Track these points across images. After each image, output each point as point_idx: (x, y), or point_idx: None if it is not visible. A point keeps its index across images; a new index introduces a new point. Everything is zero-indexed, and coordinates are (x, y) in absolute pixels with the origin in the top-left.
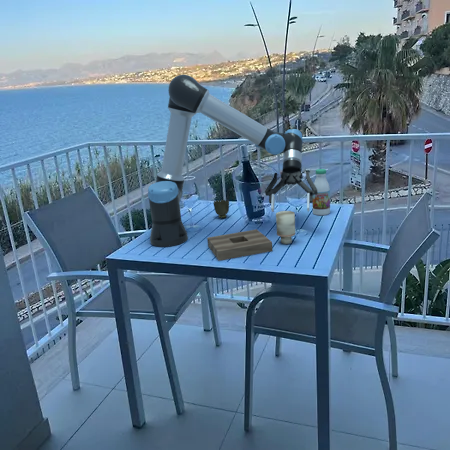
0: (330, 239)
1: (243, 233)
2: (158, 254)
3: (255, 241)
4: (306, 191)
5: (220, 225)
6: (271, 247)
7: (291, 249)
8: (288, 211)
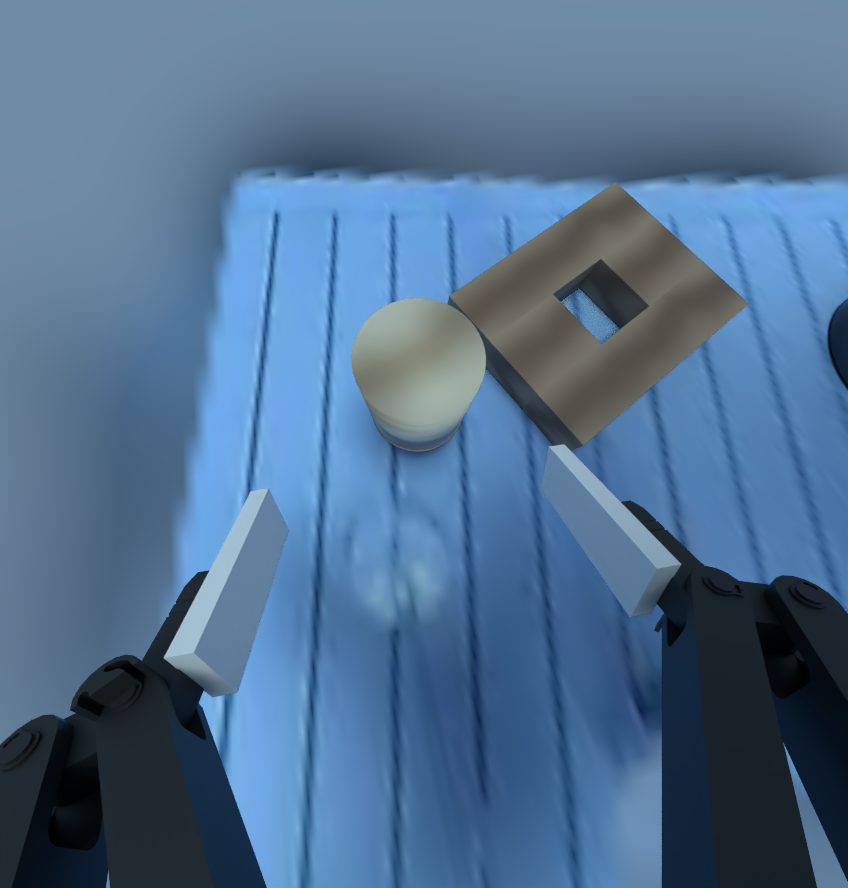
0: (229, 487)
1: (619, 376)
2: (826, 232)
3: (520, 290)
4: (215, 770)
5: None
6: None
7: None
8: (408, 407)
